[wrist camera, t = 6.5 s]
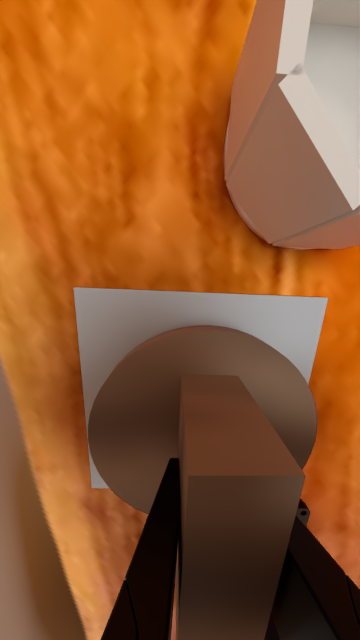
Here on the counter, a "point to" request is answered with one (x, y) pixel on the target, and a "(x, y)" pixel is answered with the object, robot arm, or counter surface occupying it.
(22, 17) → the counter surface
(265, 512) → the lid
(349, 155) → the bowl
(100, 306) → the mat
